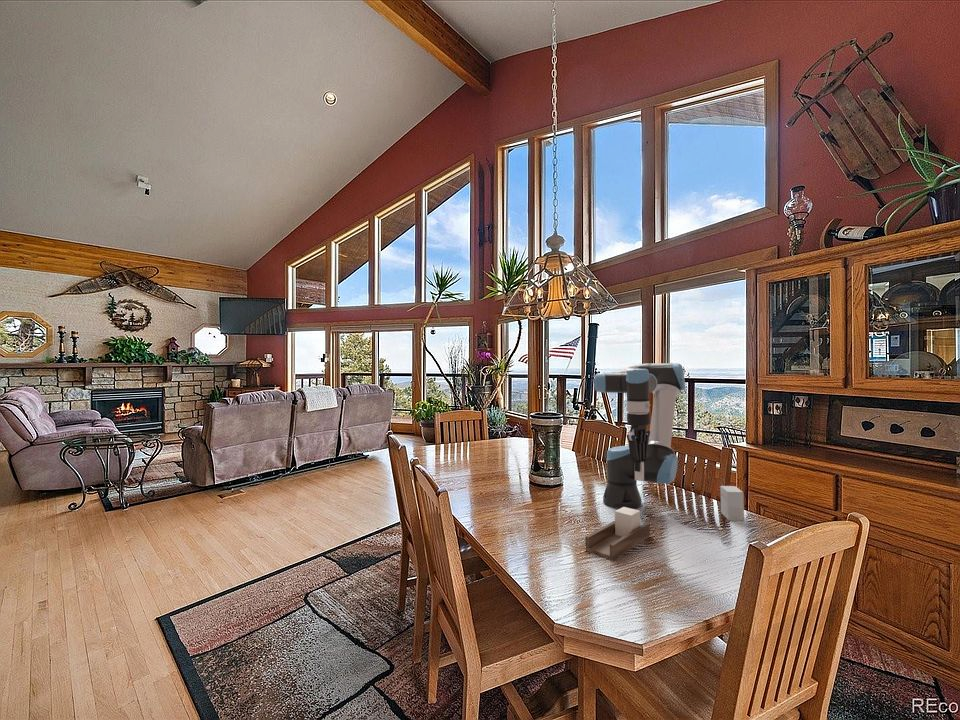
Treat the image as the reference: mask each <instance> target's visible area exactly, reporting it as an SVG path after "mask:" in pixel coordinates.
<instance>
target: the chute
mask: <svg viewBox="0 0 960 720" xmlns="http://www.w3.org/2000/svg"><path fill="white" fill-rule="evenodd" d="M650 537H651V523H649V522H645V523H643V524H640V526H639V527H638V528H636V529H634V530H633V531H631V532H629V533H628V534H626V535H624V536H623V537H621V536H618V535H615V520H613V521H611V522H610V523H608V524H605V525H604V526H602V527H600V528H598V529H597V530H595V531H593V532H591V533H589V534H588V535H586V536H585V538H584V540H585V542H584V543H585V552H589V553H591V554H595V555H598V556H601V557H603V558H606V559H609V560H612V561H615V560H616V559H618V558H619V557H621V556H623V555H624V554H626V553H627V552H628V551H630V550H632V549H633V548H634V547H637V546H638V545H639V544H641V543H643V542H644V541H645V540H646V539H648V538H650Z"/></svg>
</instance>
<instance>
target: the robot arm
mask: <svg viewBox="0 0 960 720" xmlns="http://www.w3.org/2000/svg"><path fill="white" fill-rule="evenodd" d="M685 378H686V377H685V373H684V368H683V365H682V364H680V363H677V362H676V363H675V362H674V363H673V362H670V363H660V362H659V363H654V362H653V363H651V362H650V363H640V364H635V365H631V366H628V367H625V369H624V370H619V371H613V372H601V373H600V372H599V373H596V374H595V375H594V379H593V385H594V389H595V391H596V392H598V393H604V394H605V393H609V394H610V393H611V394H612V393H616V394H617V393H618V394H620V393H622V394H626V412H628V413H626V422H627V424H628V425H630V434H626V439H627V441H628V442H627V443H628V445H620V446H613V447H611V448H609V449H608V450H607V451H606V478H607V479H606V480H607V481H606V482H607V483H606V487H605V489H604V492H603V495H602V501H603V502H602V503H604V504H605V506H607V507H611V508H614V509H620V508H622V507H627V508H631V509H637V508H640V507H641V506H643V504H642V502H643V501H642V497H641V494H640V492H639V488H638V484H637V483H638V482H648V483H655V484H659V485H660V484H663V485H664V484H665V485H669V484H670V485H671V484H672V483H673V482H674V480H675V479H676V475H677V472H678V467H679V466H678V463H679V458H678V456H677V454H675V450H674V449H673V448H672V446H671V445H672V438H673V437H672V436H673V425H674V418H675V409H676V401H677V400H676V398H677V397H679V396H680V395H681V391H684V390H685V389H686V380H685ZM651 393H652V394H653V395H654V397H653V403H652V412H651V415H650V414H649V413H650V410H651V409H650V407H651V404H650V394H651ZM648 425H649V430H648V428H647V426H648ZM637 481H638V482H637Z"/></svg>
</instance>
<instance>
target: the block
mask: <svg viewBox="0 0 960 720" xmlns="http://www.w3.org/2000/svg"><path fill="white" fill-rule="evenodd" d="M614 521H615V535H618V536H621V537H623V536H624V535H626V534H628V533H629V532H631V531H633V530H634V529H636V528H638V527H639V526H641V510H639V509H636V508H634V509H631V508H627V507H622V508H620V509H619V508H617V510H614Z"/></svg>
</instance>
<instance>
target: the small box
mask: <svg viewBox="0 0 960 720" xmlns="http://www.w3.org/2000/svg"><path fill="white" fill-rule="evenodd" d="M719 487H720V491H719V492H720V513H721V514H722V515H723V516H724V517H725V518H726V519H727V521H745V502H744V501H745V498H744V497H745V495H744V492H743V490H741V489H740V488H739V487H737V486H736V485H735V486H734V485H720V486H719Z"/></svg>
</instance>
